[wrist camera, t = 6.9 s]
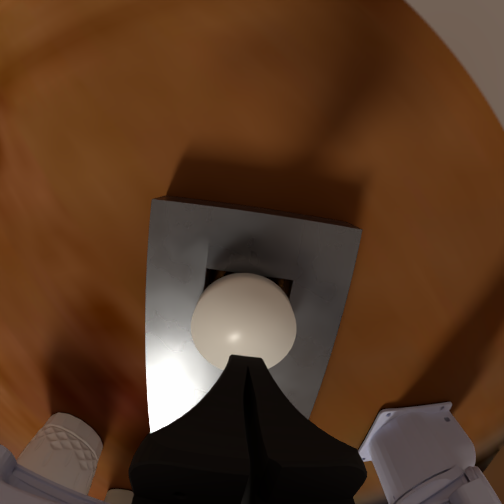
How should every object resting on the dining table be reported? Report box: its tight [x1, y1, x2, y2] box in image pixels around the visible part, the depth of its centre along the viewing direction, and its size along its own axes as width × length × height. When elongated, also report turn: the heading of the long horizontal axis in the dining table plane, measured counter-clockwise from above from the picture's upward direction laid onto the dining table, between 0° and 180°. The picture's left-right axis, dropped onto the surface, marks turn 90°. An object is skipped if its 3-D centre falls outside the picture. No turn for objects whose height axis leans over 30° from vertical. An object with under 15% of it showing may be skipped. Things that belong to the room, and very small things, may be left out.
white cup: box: [16, 412, 103, 495], centre depth 20 cm, size 8×8×10 cm
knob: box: [191, 272, 296, 370], centre depth 18 cm, size 6×6×5 cm
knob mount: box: [145, 196, 362, 433], centre depth 21 cm, size 12×24×3 cm, turn 172°
